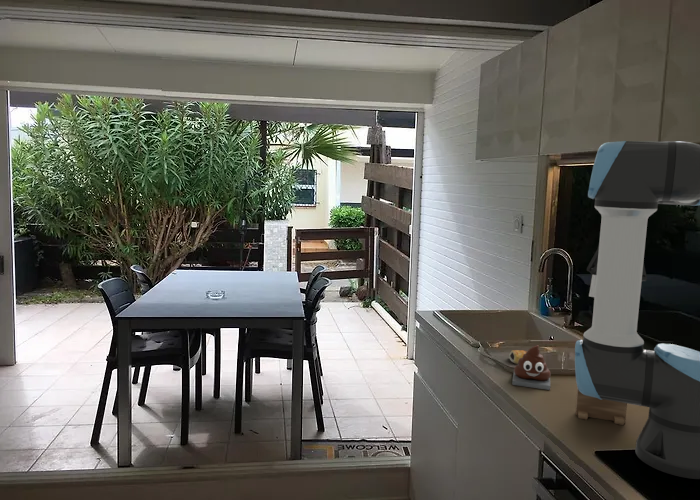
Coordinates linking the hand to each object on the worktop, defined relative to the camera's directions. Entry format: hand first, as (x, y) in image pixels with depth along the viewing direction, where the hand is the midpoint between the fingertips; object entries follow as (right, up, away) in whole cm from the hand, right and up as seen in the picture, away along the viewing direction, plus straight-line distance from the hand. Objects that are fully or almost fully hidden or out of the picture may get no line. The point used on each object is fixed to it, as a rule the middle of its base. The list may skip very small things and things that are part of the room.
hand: (610, 301), depth 160 cm
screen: (-13, -26, -23) cm, 37 cm away
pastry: (-19, -21, +20) cm, 34 cm away
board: (-22, -23, +1) cm, 32 cm away
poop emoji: (-22, -22, +1) cm, 31 cm away
